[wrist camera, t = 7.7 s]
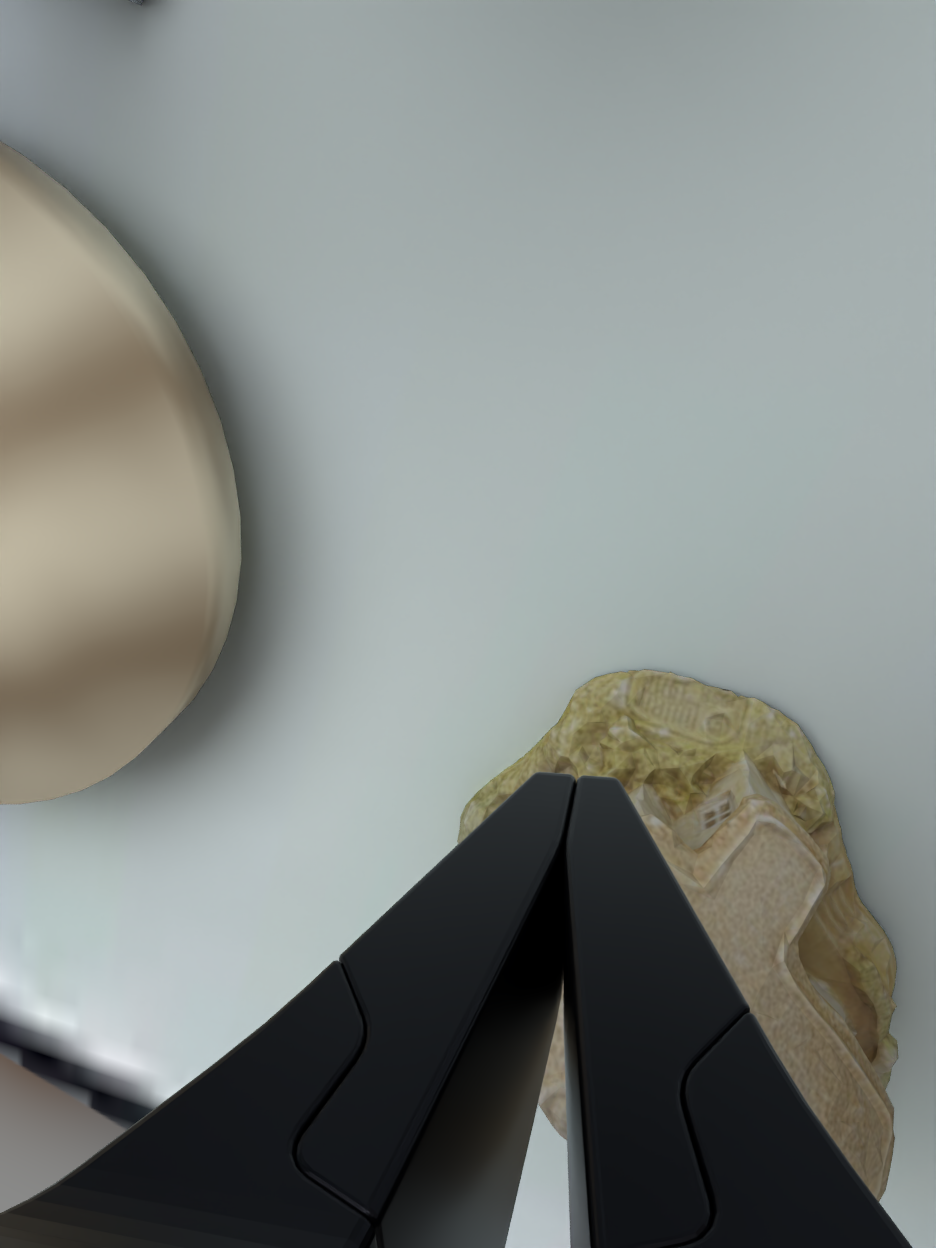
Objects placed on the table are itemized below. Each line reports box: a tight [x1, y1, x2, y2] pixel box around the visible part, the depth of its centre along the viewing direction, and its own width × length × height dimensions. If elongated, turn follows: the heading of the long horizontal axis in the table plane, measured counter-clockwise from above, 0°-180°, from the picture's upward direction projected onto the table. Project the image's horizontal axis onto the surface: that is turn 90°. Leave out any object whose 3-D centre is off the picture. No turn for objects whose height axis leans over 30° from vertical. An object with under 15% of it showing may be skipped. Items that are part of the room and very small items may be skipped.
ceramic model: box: [457, 669, 898, 1202], centre depth 21 cm, size 14×11×10 cm
